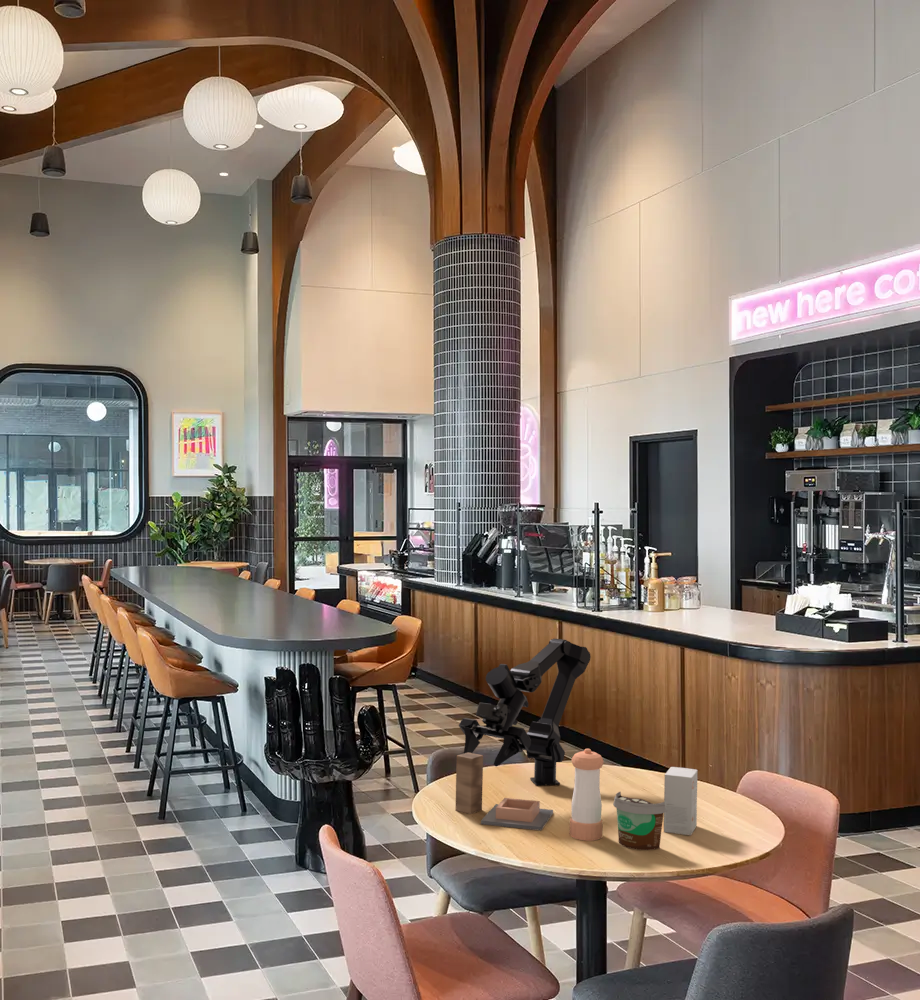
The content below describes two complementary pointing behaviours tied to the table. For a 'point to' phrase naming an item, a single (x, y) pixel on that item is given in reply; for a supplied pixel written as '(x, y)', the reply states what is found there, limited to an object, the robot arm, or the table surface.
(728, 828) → the table surface
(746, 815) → the table surface
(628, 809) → the food container
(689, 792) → the small box
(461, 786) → the walnut block
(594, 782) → the salt shaker
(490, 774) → the table surface
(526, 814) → the jaw socket
